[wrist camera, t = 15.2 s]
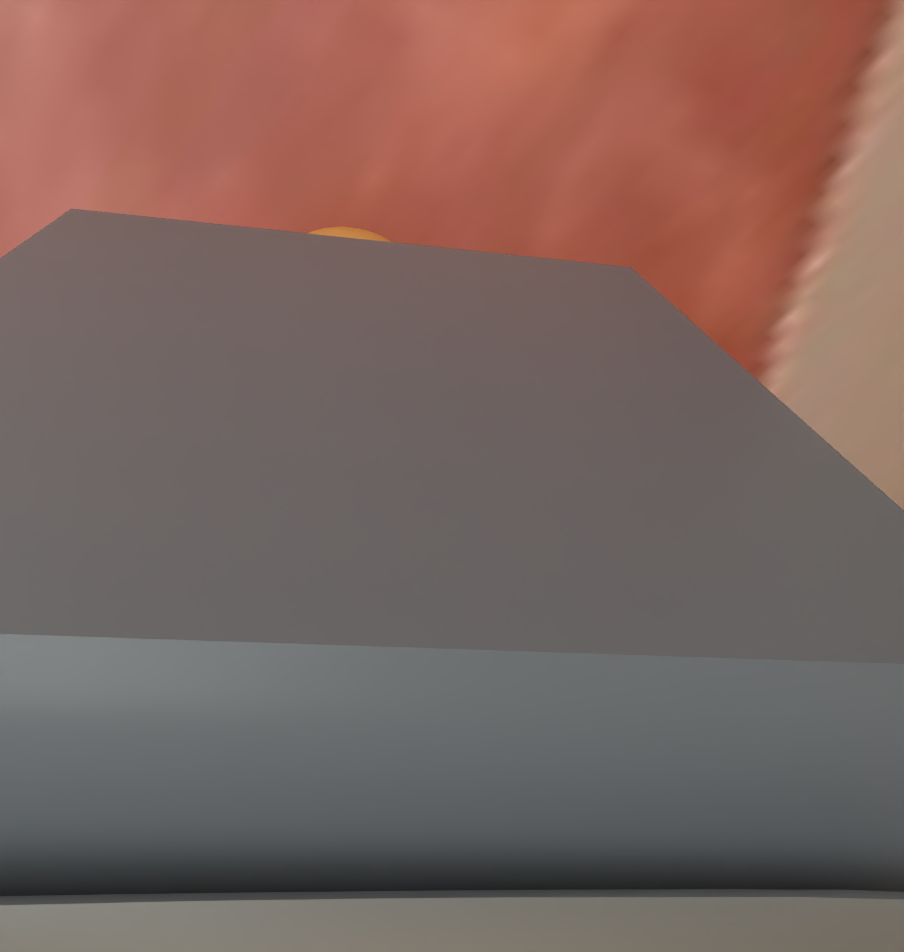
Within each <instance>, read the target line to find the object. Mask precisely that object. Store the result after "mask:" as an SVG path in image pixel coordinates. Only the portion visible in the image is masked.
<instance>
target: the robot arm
mask: <svg viewBox="0 0 904 952" xmlns="http://www.w3.org/2000/svg"><path fill="white" fill-rule="evenodd" d="M0 952H904V892H895V891H868V890H778V889H615V890H445V891H337V892H243V893H170V894H104V895H39V896H0Z"/></svg>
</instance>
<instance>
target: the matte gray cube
mask: <svg viewBox="0 0 904 952" xmlns="http://www.w3.org/2000/svg"><path fill="white" fill-rule="evenodd" d="M615 889H778V890H868V891H895V892H904V510H902V509H901V508H900V507H899V506H898V505H897V504H896V503H895V502H894V501H892V500H891V499H890V498H889V497H888V496H887V495H886V494H885V493H883V492H882V491H881V490H880V489H879V488H878V487H877V486H876V485H874V484H873V483H872V482H871V481H870V480H869V479H868V478H867V477H865V476H864V475H863V474H862V473H861V472H860V471H859V470H858V469H856V468H855V467H854V466H853V465H852V464H851V463H850V462H849V461H848V460H846V459H845V458H844V457H843V456H842V455H841V454H840V453H839V452H837V451H836V450H835V449H834V448H833V447H832V446H831V445H830V444H828V443H827V442H826V441H825V440H824V439H823V438H822V437H821V436H819V435H818V434H817V433H816V432H815V431H814V430H813V429H812V428H811V427H809V426H808V425H807V424H806V423H805V422H804V421H803V420H802V419H800V418H799V417H798V416H797V415H796V414H795V413H794V412H793V411H791V410H790V409H789V408H788V407H787V406H786V405H785V404H784V403H782V402H781V401H780V400H779V399H778V398H777V397H776V396H775V395H773V394H772V393H771V392H770V391H769V390H768V389H767V388H766V387H765V386H763V385H762V384H761V383H760V382H759V381H758V380H757V379H756V378H754V377H753V376H752V375H751V374H750V373H749V372H748V371H747V370H745V369H744V368H743V367H742V366H741V365H740V364H739V363H738V362H736V361H735V360H734V359H733V358H732V357H731V356H730V355H729V354H728V353H726V352H725V351H724V350H723V349H722V348H721V347H720V346H719V345H717V344H716V343H715V342H714V341H713V340H712V339H711V338H710V337H708V336H707V335H706V334H705V333H704V332H703V331H702V330H701V329H699V328H698V327H697V326H696V325H695V324H694V323H693V322H692V321H691V320H689V319H688V318H687V317H686V316H685V315H684V314H683V313H682V312H680V311H679V310H678V309H677V308H676V307H675V306H674V305H673V304H671V303H670V302H669V301H668V300H667V299H666V298H665V297H664V296H662V295H661V294H660V293H659V292H658V291H657V290H656V289H655V288H653V287H652V286H651V285H650V284H649V283H648V282H647V281H646V280H645V279H643V278H642V277H641V276H640V275H639V274H638V273H637V272H636V271H634V270H633V269H632V268H631V267H624V266H614V265H605V264H595V263H586V262H576V261H566V260H557V259H547V258H538V257H528V256H519V255H509V254H500V253H490V252H480V251H471V250H461V249H452V248H442V247H433V246H423V245H414V244H404V243H394V242H385V241H375V240H366V239H356V238H347V237H337V236H327V235H318V234H308V233H299V232H289V231H280V230H270V229H261V228H251V227H241V226H232V225H222V224H213V223H203V222H194V221H184V220H175V219H165V218H155V217H146V216H136V215H127V214H117V213H108V212H98V211H89V210H79V209H70V210H69V211H67V212H66V213H65V214H63V215H62V216H60V217H59V218H57V219H56V220H55V221H53V222H52V223H50V224H49V225H47V226H46V227H45V228H43V229H42V230H40V231H39V232H37V233H36V234H34V235H33V236H32V237H30V238H29V239H27V240H26V241H24V242H23V243H22V244H20V245H19V246H17V247H16V248H14V249H13V250H12V251H10V252H9V253H7V254H6V255H4V256H3V257H2V258H0V896H39V895H104V894H170V893H243V892H337V891H445V890H615Z"/></svg>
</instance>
